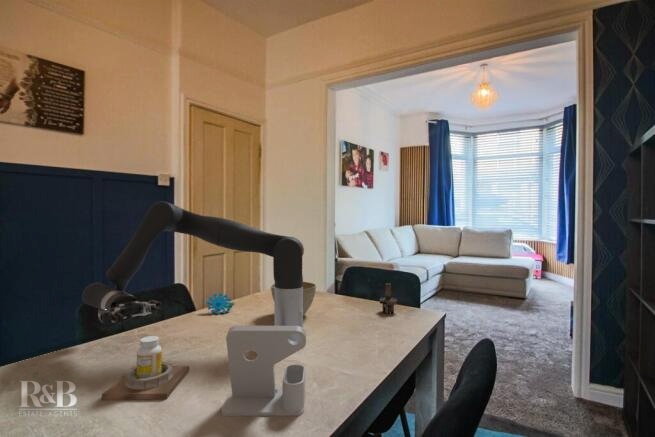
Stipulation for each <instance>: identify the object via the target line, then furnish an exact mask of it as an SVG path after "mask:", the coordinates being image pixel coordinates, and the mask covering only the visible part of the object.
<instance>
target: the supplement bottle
mask: <svg viewBox="0 0 655 437" xmlns="http://www.w3.org/2000/svg"><path fill="white" fill-rule="evenodd" d="M159 344H160V336H157V335H150V336H145V337H142V338H141V339H140V340H139V345H140V347H139V348H138V349H137V351H136V366H137V378H150V377H155V376H158V375H160V374H161V369H162V362H163V361H162V358H163V357H162V356H163V354H162V353H163V351H162V346H161V345H159Z"/></svg>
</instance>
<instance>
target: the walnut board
mask: <svg viewBox="0 0 655 437" xmlns="http://www.w3.org/2000/svg"><path fill="white" fill-rule="evenodd" d="M189 372H190V365H173V364H172V363H169V362H166V361H162V369H161V374H160V375H158V376H155V377H150V378H137V365H136V366H133V367H131V368H129V369H128V370H127V371H126V372H125V374H124V375H123V376H121V377H120V378H119V379H118V380H117V381H115V383H113V384H112V385H111V386H110V387H108V389H105V391H104V392H103V393H102V394H101V400H102V401H103V400H104V401H107V400H108V401H109V400H167V399H168V398H169V397H170V396H171V394H172V393H173V391H175V389H176V388H177V387H178V386H179V384H180V383H181V382H182V381H183V379H184V378H185V377H186V376H187V375H188V374H189Z"/></svg>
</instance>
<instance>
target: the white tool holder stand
mask: <svg viewBox="0 0 655 437" xmlns="http://www.w3.org/2000/svg"><path fill="white" fill-rule="evenodd" d="M291 334H298V335H300V336H301V338H302V339H301V340H300V341H291V340H289V339H288V337H289V336H290V335H291ZM225 338H226V341H225V342H226V350H227V358H228V368H229V376H230V386H231V390H229V393H228V395H227V397H226V399H225V401H224V403H223V405H222V407H221V408H220V409H221V415H223V416H226V417H227V416H228V417H229V416H232V417H233V416H239V417H241V416H256V417H257V416H259V417H260V416H267V417H268V416H301V415H303V414H304V412H305V404H306V403H305V402H306V367H305V365H304V366H303V365H302V364H291V365H288V366H286V368H285V369H284V372H283V378H282V388H281V387H276V377H275V376H276V375H275V373H276V372H275V365H276V364H278V363H280V362H282V361H283V360H285V359H287V358H288V357H290V356H292V355H293V354H296V353H297V352H299V351H301V350H302V349H304V348H305V347H306V345H307V331H306V330H305V328H304V327H303V328H302V327H300V326H274V325H234V326H232V327H230V328H229V329H228V331H227V333H226V337H225ZM247 351H253V352H255V353H256V355H257V356H256V358H254V359H251V360H250V359H247V357H246V356H245V354H244V353H246V352H247Z"/></svg>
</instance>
